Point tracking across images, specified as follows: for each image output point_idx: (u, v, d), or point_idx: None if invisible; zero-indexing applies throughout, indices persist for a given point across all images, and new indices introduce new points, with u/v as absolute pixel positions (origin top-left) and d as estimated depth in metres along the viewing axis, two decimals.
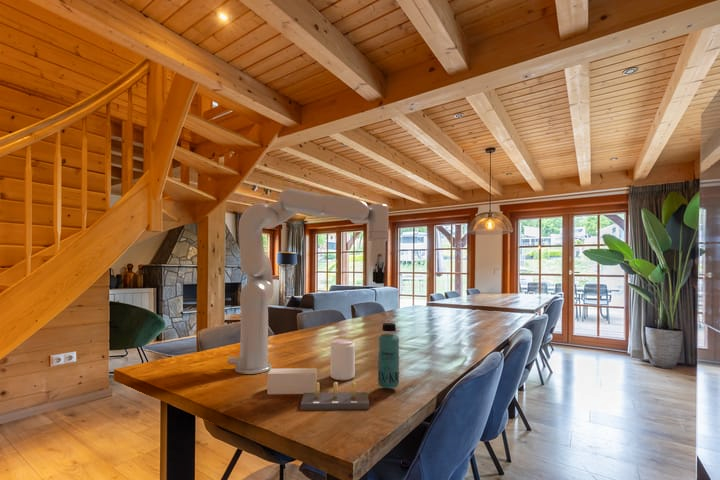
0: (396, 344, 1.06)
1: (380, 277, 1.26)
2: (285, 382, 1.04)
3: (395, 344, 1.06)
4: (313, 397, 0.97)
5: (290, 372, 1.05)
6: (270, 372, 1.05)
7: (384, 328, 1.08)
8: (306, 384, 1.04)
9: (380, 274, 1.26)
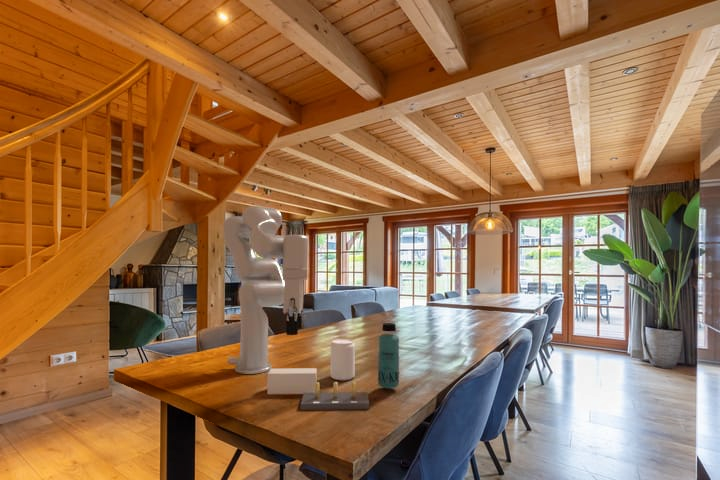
0: (396, 344, 1.06)
1: (292, 327, 1.01)
2: (285, 382, 1.04)
3: (395, 344, 1.06)
4: (313, 397, 0.97)
5: (290, 372, 1.05)
6: (270, 372, 1.05)
7: (384, 328, 1.08)
8: (306, 384, 1.04)
9: (292, 323, 1.02)
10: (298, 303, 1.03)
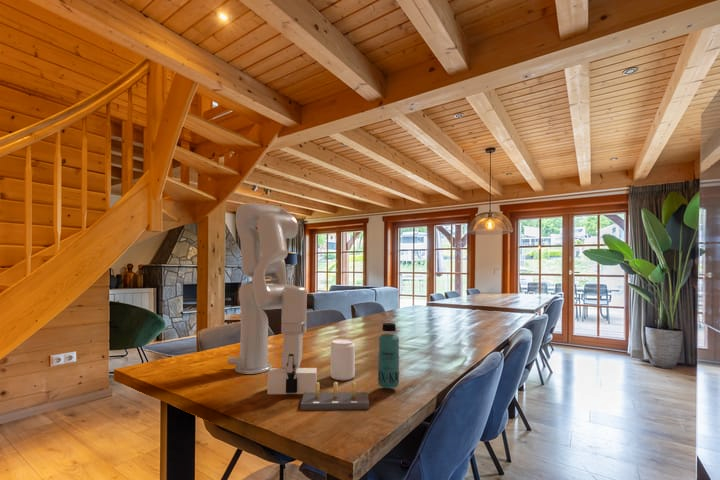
0: (396, 344, 1.06)
1: (291, 385, 1.02)
2: (285, 382, 1.04)
3: (395, 344, 1.06)
4: (313, 397, 0.97)
5: None
6: (270, 372, 1.05)
7: (384, 328, 1.08)
8: (306, 384, 1.04)
9: (291, 382, 1.03)
10: (297, 359, 1.02)
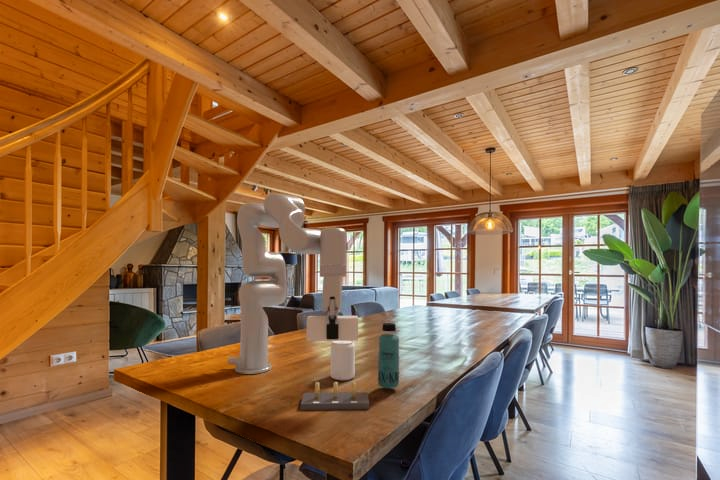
0: (396, 344, 1.06)
1: (333, 331, 0.95)
2: (326, 328, 0.96)
3: (395, 344, 1.06)
4: (313, 397, 0.97)
5: None
6: (309, 317, 0.97)
7: (384, 328, 1.08)
8: (348, 330, 0.97)
9: (333, 327, 0.95)
10: (338, 302, 0.95)
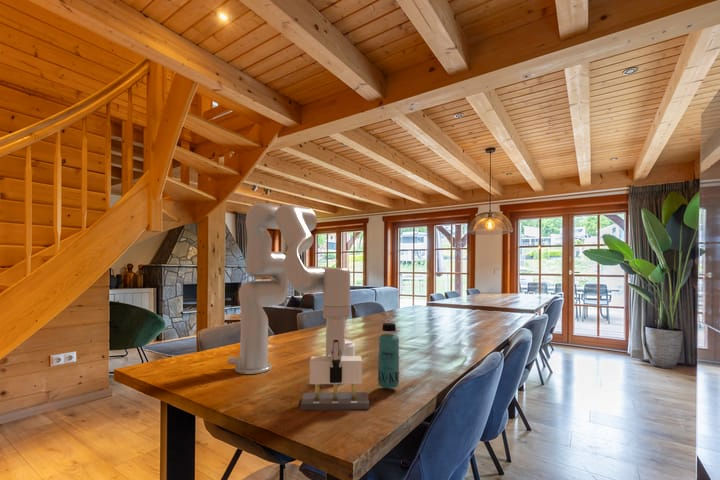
0: (396, 344, 1.06)
1: (336, 375, 0.94)
2: (329, 371, 0.95)
3: (395, 344, 1.06)
4: (313, 397, 0.97)
5: None
6: (312, 360, 0.96)
7: (384, 328, 1.08)
8: (352, 372, 0.95)
9: (336, 370, 0.94)
10: (342, 345, 0.93)
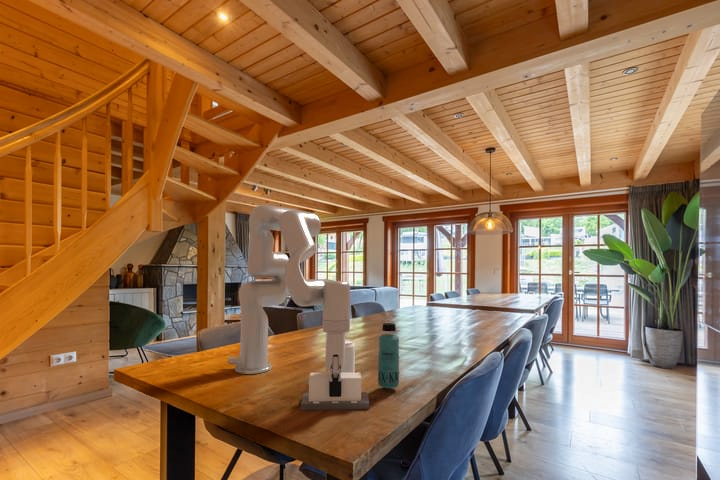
0: (396, 344, 1.06)
1: (336, 389, 0.92)
2: (328, 388, 0.95)
3: (395, 344, 1.06)
4: None
5: None
6: (311, 377, 0.96)
7: (384, 328, 1.08)
8: (351, 390, 0.95)
9: (336, 385, 0.92)
10: (342, 360, 0.93)
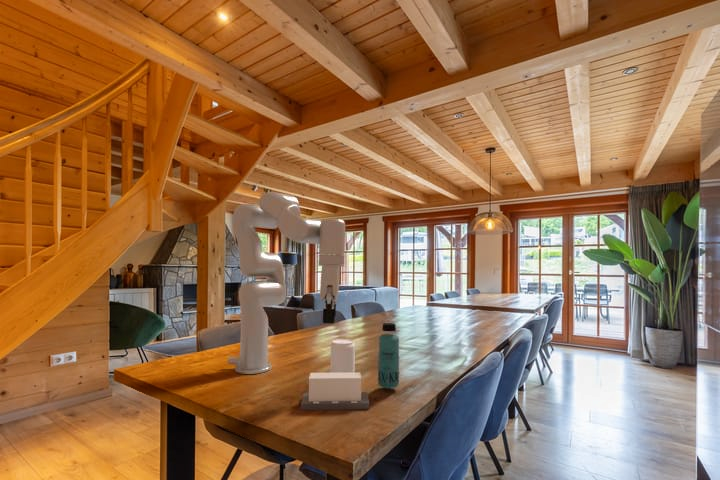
0: (396, 344, 1.06)
1: (329, 315, 0.97)
2: (328, 388, 0.95)
3: (395, 344, 1.06)
4: None
5: (333, 377, 0.96)
6: (311, 377, 0.96)
7: (384, 328, 1.08)
8: (351, 390, 0.95)
9: (329, 311, 0.97)
10: (335, 290, 0.99)
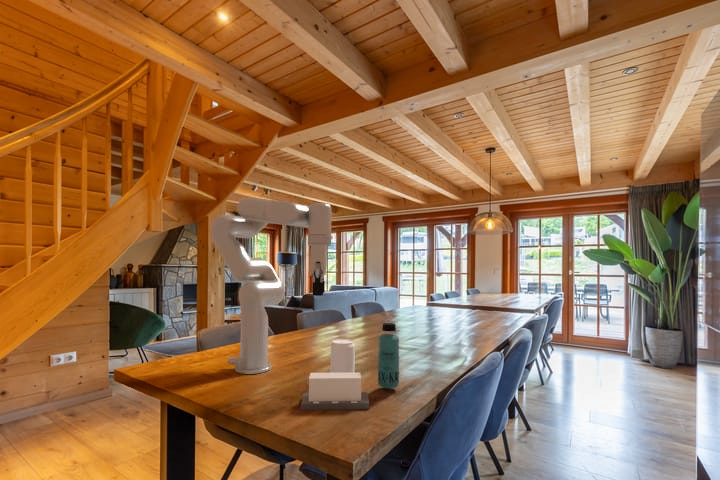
0: (396, 344, 1.06)
1: (318, 288, 1.09)
2: (328, 388, 0.95)
3: (395, 344, 1.06)
4: None
5: (333, 377, 0.96)
6: (311, 377, 0.96)
7: (384, 328, 1.08)
8: (351, 390, 0.95)
9: (318, 285, 1.09)
10: (323, 266, 1.10)
